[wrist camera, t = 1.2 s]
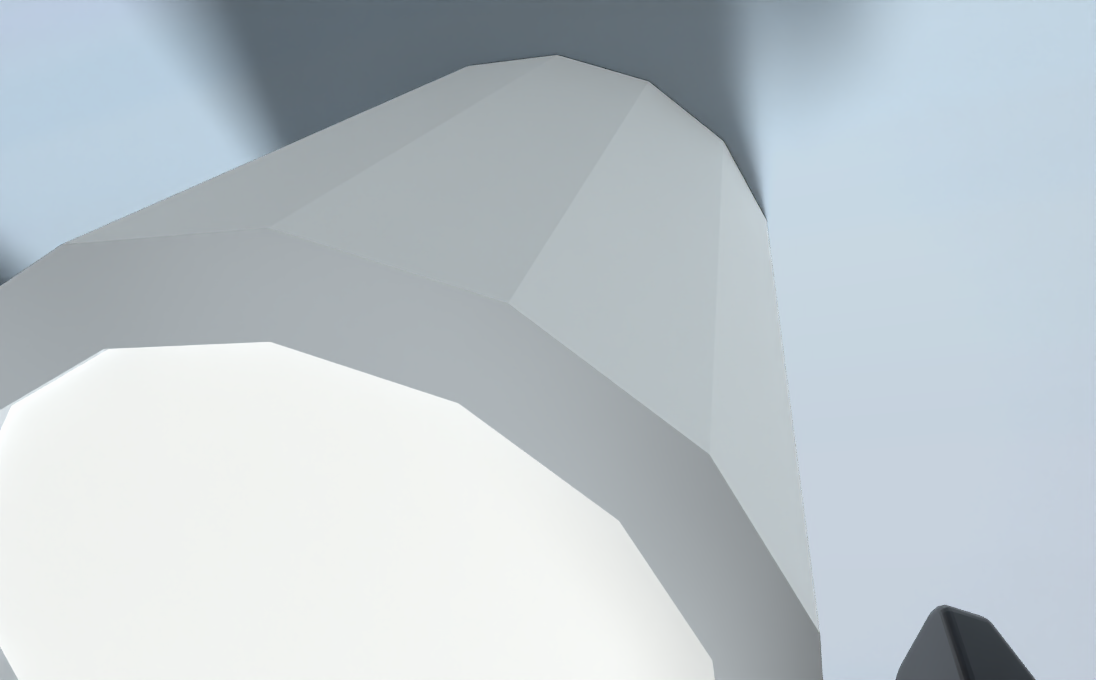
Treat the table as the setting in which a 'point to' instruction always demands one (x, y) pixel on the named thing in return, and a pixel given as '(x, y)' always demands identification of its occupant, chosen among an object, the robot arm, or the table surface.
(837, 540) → the table surface
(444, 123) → the shot glass
